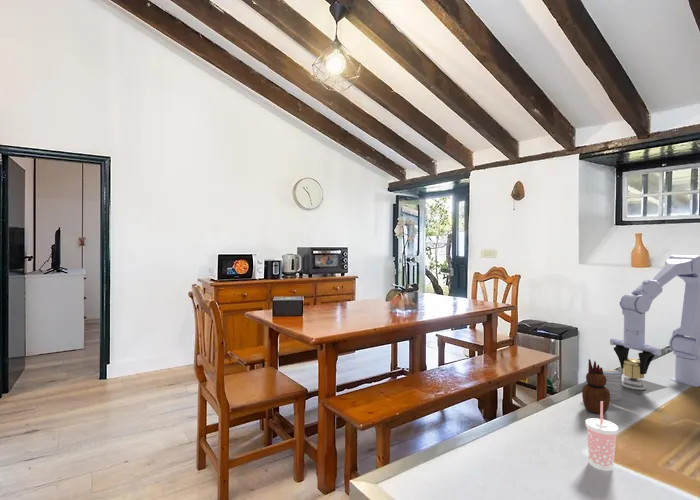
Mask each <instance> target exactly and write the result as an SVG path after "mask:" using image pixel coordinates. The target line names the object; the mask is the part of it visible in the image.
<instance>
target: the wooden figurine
mask: <svg viewBox="0 0 700 500" xmlns="http://www.w3.org/2000/svg"><path fill="white" fill-rule="evenodd" d="M593 361H594V362H593V365H592V361H591V359H588V369H589V372H587V373H586V375H585V379H586V380H585V381H586V383H585V384H584V385H582V389H581V391H582V392H581V395H582V401H583V405H584V408H585V409H586V410H587V411H589V412H591V413H594V414H600V403H601V401H603V414H605V413H606V412H607V411H608V409H609V406H610V402H611V401H610V400H611V399H610V392H609V390H608V389H607V388H606V387H605V385H606V377H605V375H604V374H603V369H604V368H603V367H600V364H597V362H596V360H593Z"/></svg>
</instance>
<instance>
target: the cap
mask: <svg viewBox="0 0 700 500" xmlns="http://www.w3.org/2000/svg"><path fill="white" fill-rule="evenodd" d="M622 375H624V377H630V378H637V379H644V378H645V374H641V373H640V359H635V358H629V357H628V358H626V359H624V362H623V369H622Z"/></svg>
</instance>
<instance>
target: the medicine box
mask: <svg viewBox="0 0 700 500" xmlns="http://www.w3.org/2000/svg"><path fill="white" fill-rule="evenodd" d="M602 369H603V374H604V375H605V377H606V385H605V387H606V388H607V389H608V390H609V392H610V400H616V401H617V400H618V401H620V400H621V401H622V390H621V388H622V381H623V378H622V377H623V376H622V375H623V373H621V372H620V371H618V370H617V369H615V368H602ZM587 371H588V372H589V368H588V370H587ZM588 372H587V373H588Z"/></svg>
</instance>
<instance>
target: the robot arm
mask: <svg viewBox="0 0 700 500" xmlns="http://www.w3.org/2000/svg"><path fill="white" fill-rule="evenodd" d="M664 263H665V264H664V266H663V267H662V268H661V269H660V271H659V272H658V273H657V274H655V276H654V277H653V278H652V279H644V280H643V281H642V282H641V284H640V285H639V286H637V287H636V288H635V289H634V290H633V291H632V292H630V293H626V294H624V295H623V296H622V297H621V299H620V301H619V306H620V309H621V310H622V311H621V312H622V315H623V339H618V338H610V339H609V345H611V346H615V347H613V351H614V352H615V354H616V356H617V359H618V361H619V364H620V367H621V369H622V370H623V362H624V359H626V358H629V352H630V350H634V351H640V352H639V353H638V355H637V356H638V358H639V359H638V360H640V373H641V374H644V375H646V374H648V373H647V372H648V369H649V367H650V364H651V362H652V361H653V359H654V358H655V356H660V355H661V348H659V347H657V346H656V347H655V346H652V345H649V344H646V313H647V312H649V310H650V309H651V305H652V304H653V301H654V300H655V299H656V298H657V297H658V296H659V295H661V293H662V292H663V287H664V286H665V285H666V284H668V283H669V282H671V281H672V280H673V279H674V278H676V277H678V278H680V279H682V280H683V281H684V283H685V286H684V287H685V288H684V295H683V302H682V303H683V304H682V310H681V311H682V312H681V319H680V320H681V321H680V326H679V327H678V328H676V329H674V330H673V331H672V333H671V334H672V335H671V337H670V339H669V341H668V342H669V343H668V345H669V348H670V350H671V351H672V353H673V355H675V356H674V357H675V359H674V362H675V364H674V366H675V367H674V369H675V370H674V371H675V372H674V377H670V378H669V381H673V382H677V383H681V384H684V385H688V386H692V387H695V388H696V387H697V388H698V387H700V255H683V254H682V255H680V254H672V255H670V256H669V257H668V258H667V259H666V260H665V262H664Z"/></svg>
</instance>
